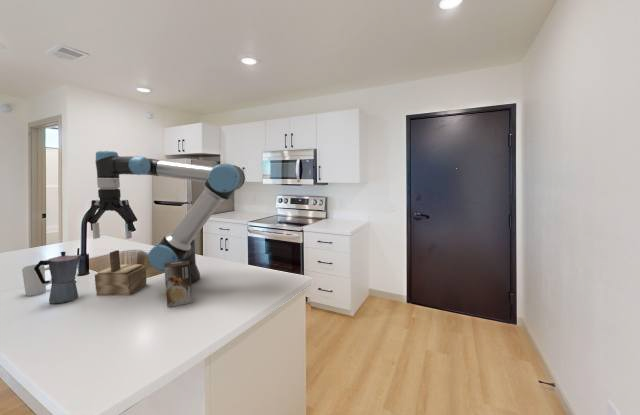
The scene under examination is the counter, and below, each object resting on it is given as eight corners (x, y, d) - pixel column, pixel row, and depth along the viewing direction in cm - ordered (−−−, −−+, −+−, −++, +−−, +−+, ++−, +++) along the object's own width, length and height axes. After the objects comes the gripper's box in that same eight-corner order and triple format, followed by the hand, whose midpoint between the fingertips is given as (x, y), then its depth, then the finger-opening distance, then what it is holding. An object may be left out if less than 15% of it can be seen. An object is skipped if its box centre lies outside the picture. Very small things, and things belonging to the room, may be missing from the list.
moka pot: (91, 294, 121) (87, 249, 119) (47, 310, 107) (42, 258, 105) (77, 291, 124) (73, 247, 122) (32, 306, 110) (26, 256, 108)
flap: (142, 265, 131) (141, 246, 130) (126, 273, 120) (125, 252, 119) (115, 265, 131) (114, 246, 130) (97, 273, 120) (95, 252, 119)
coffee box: (191, 297, 119) (189, 259, 117) (192, 302, 113) (190, 263, 111) (166, 301, 114) (164, 262, 113) (166, 307, 109) (164, 267, 107)
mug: (25, 297, 118) (22, 269, 117) (24, 293, 122) (21, 266, 121) (57, 290, 126) (55, 264, 124) (55, 286, 130) (53, 261, 129)
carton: (147, 284, 133) (146, 265, 132) (130, 294, 121) (129, 274, 120) (115, 284, 132) (113, 266, 131) (95, 295, 120) (93, 274, 120)
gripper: (144, 188, 123) (147, 236, 125) (86, 188, 122) (90, 236, 124) (133, 189, 115) (136, 240, 117) (71, 188, 115) (75, 240, 117)
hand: (112, 238), depth 121 cm, fingers open, 13 cm apart
